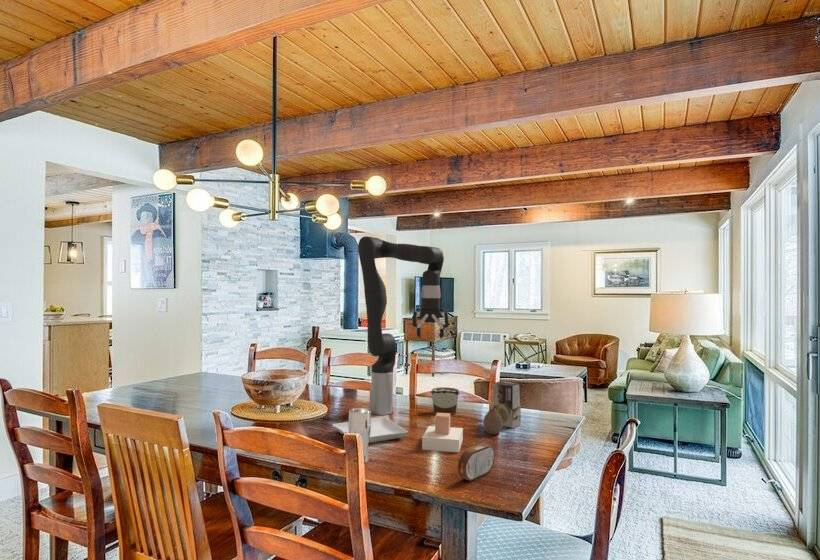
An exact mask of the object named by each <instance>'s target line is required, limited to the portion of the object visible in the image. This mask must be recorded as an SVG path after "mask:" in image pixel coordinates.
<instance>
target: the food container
mask: <svg viewBox="0 0 820 560" xmlns="http://www.w3.org/2000/svg"><path fill="white" fill-rule="evenodd" d="M430 395H431V396H432V406H433V414H437V413H450V415H456V414H457V408H458V399H459V396H460V391H459V389H457V388H454V387H449V386H447V387H446V386H445V387H444V386H441V387H434V388H431V391H430Z"/></svg>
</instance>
